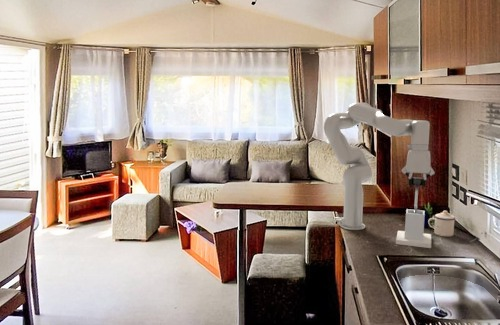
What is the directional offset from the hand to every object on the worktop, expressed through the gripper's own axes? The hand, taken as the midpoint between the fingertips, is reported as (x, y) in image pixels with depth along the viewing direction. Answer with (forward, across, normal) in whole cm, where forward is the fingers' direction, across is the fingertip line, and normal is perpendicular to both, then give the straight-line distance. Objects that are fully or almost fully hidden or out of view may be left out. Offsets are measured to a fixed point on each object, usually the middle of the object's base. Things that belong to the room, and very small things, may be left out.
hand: (416, 187), depth 204 cm
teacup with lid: (+26, +12, +17) cm, 33 cm away
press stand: (+26, 0, 0) cm, 26 cm away
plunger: (+14, 0, 0) cm, 14 cm away
